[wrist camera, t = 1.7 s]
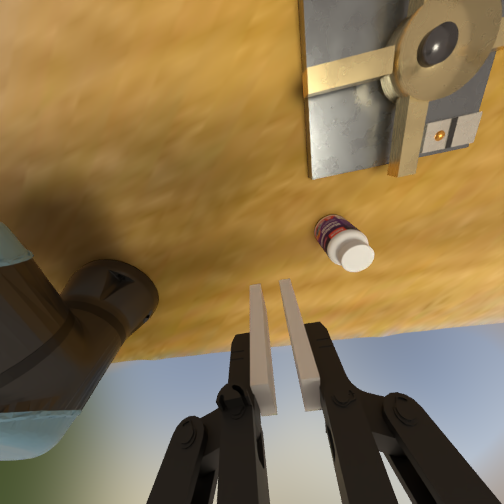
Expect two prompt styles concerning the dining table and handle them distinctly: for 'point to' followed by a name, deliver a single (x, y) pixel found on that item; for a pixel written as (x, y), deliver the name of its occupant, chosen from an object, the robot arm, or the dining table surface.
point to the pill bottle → (344, 243)
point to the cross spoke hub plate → (371, 91)
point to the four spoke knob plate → (418, 66)
